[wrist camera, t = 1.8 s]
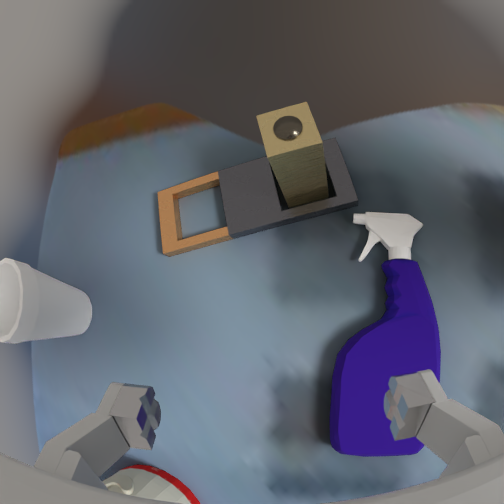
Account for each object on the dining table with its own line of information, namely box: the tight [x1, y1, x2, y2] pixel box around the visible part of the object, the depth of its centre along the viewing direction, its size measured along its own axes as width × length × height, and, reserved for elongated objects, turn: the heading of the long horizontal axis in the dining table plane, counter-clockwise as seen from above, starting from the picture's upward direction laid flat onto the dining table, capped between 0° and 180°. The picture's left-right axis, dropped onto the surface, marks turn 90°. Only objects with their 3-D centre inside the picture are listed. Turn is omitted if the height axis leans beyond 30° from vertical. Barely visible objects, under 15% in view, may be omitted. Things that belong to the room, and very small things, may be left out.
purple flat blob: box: [330, 212, 441, 456], centre depth 28 cm, size 3×11×24 cm
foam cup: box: [0, 258, 92, 344], centre depth 33 cm, size 10×9×13 cm
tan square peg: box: [257, 102, 329, 208], centre depth 30 cm, size 4×4×11 cm
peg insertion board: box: [158, 138, 358, 257], centre depth 36 cm, size 22×8×2 cm, turn 102°
